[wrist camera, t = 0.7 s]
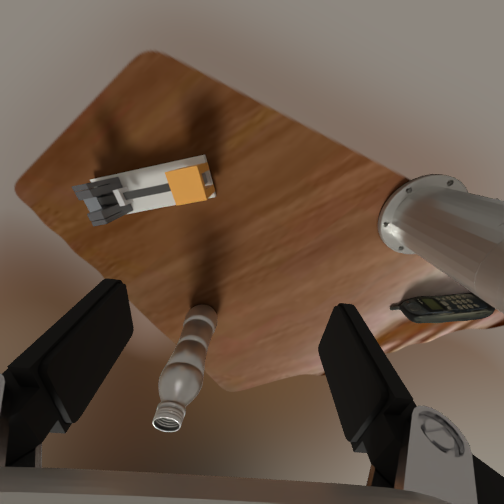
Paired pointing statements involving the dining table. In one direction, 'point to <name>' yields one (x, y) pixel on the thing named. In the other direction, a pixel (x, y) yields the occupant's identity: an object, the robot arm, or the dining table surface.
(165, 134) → the dining table surface
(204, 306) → the plastic bottle
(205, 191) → the orange bracket
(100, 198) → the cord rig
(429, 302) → the mobile phone
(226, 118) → the dining table surface
